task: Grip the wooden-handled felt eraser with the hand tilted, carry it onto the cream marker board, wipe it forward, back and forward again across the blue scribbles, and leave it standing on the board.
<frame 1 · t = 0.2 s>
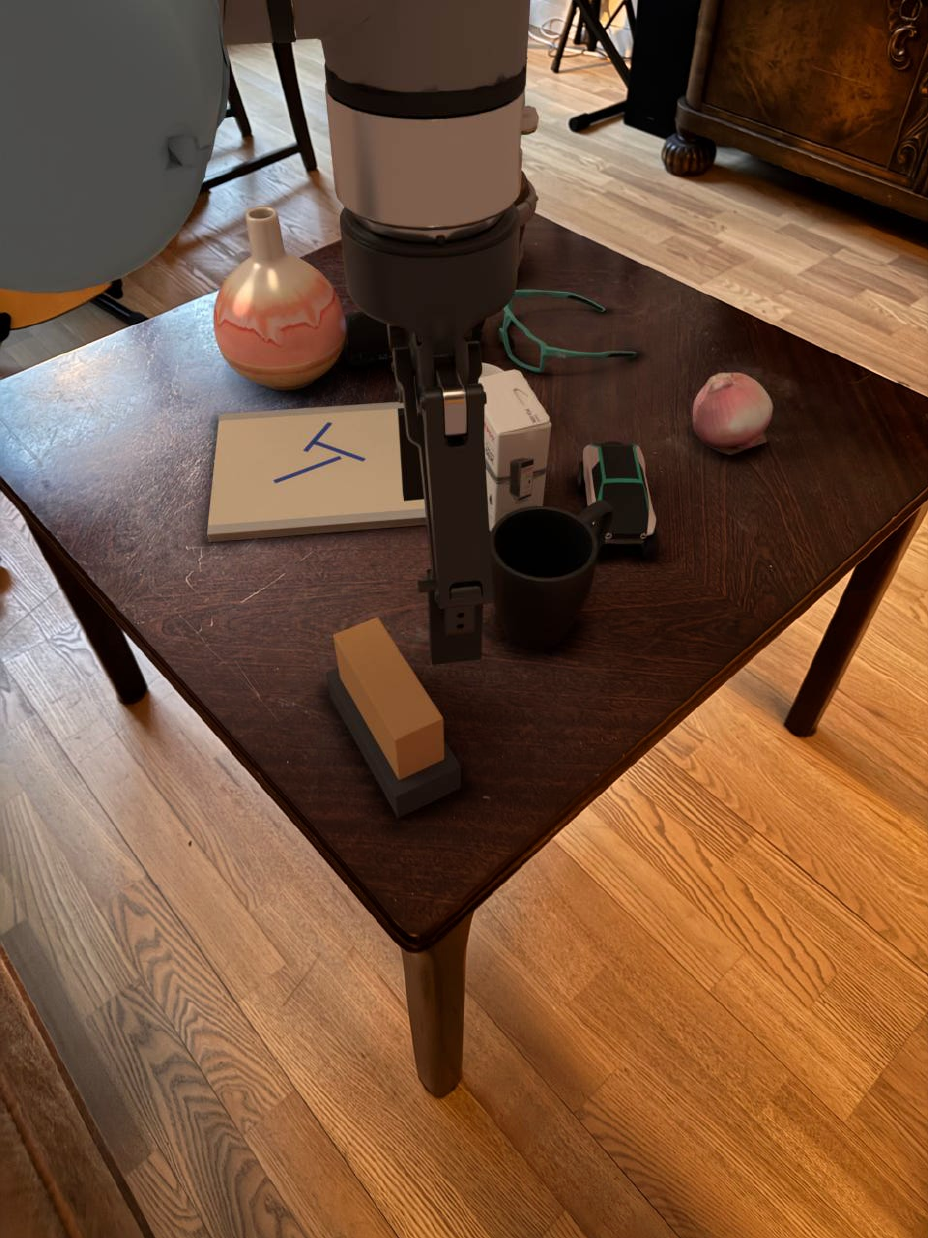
hand: (438, 569, 51), 18 cm above the table, tool pointing down, fingers open, 13 cm apart
sunglasses: (560, 343, 100), on the table
flowerpot: (473, 274, 111), on the table
onion: (724, 441, 88), on the table
mug: (550, 614, 73), on the table
board: (319, 470, 85), on the table
eraser: (392, 740, 64), on the table
vase: (289, 375, 96), on the table
game console: (411, 348, 100), on the table
ink box: (502, 505, 82), on the table
toy car: (613, 518, 81), on the table
teacup: (473, 423, 90), on the table
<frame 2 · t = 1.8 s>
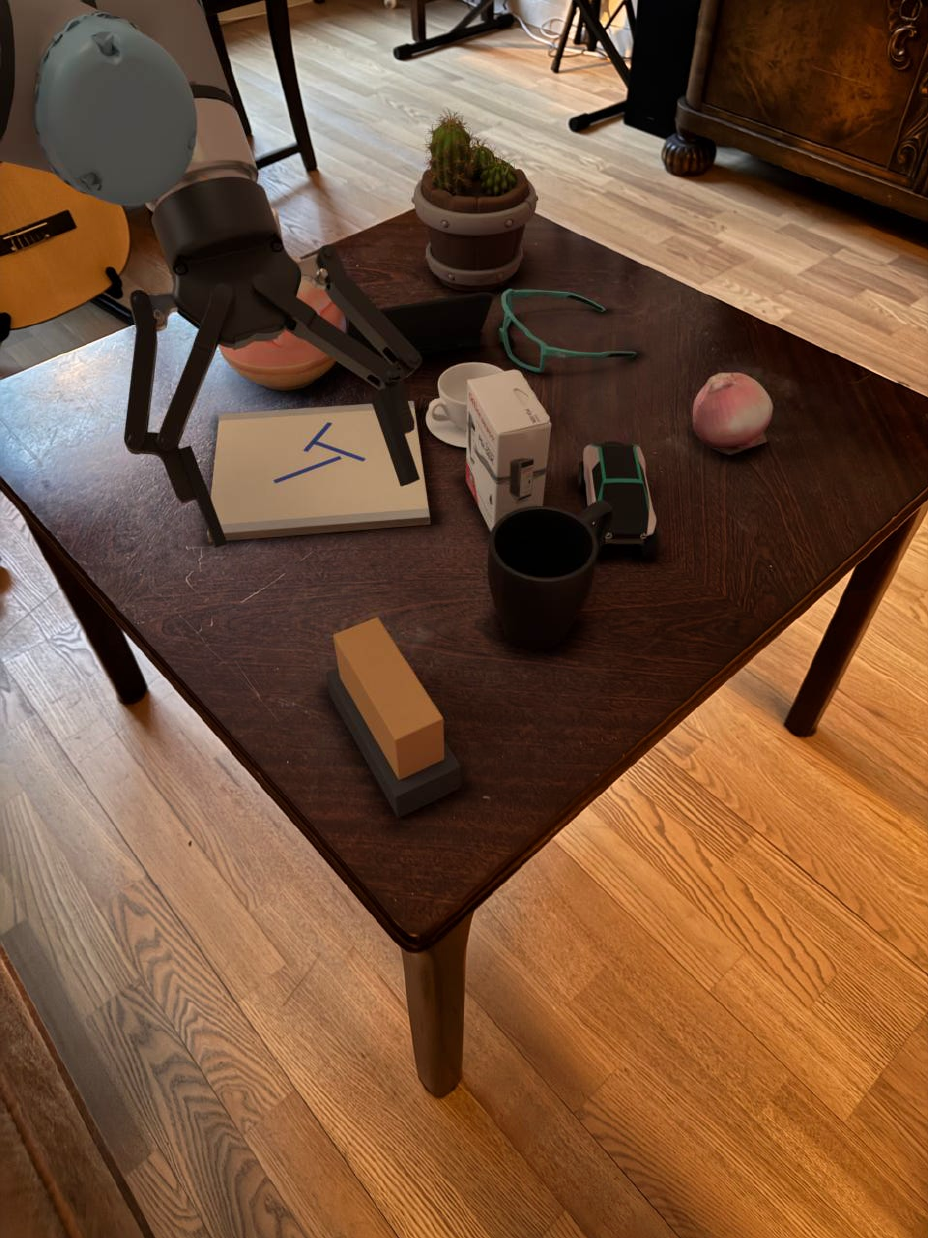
hand: (318, 514, 59), 15 cm above the table, tool tilted 45°, fingers open, 13 cm apart
nothing on the table moved.
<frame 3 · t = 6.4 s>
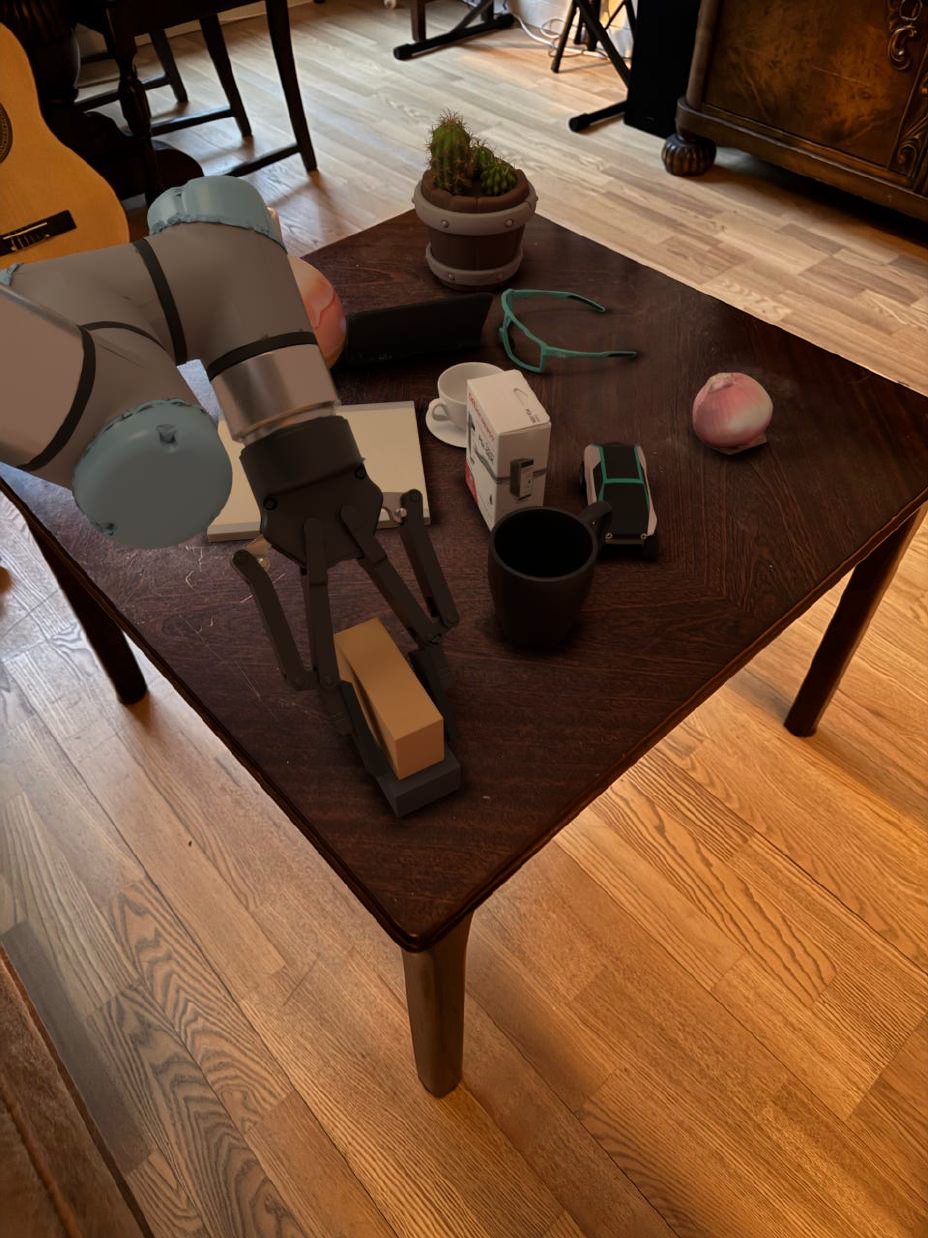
hand: (413, 753, 60), 3 cm above the table, tool tilted 45°, fingers closed on eraser, 5 cm apart
eraser: (392, 740, 64), on the table, touching gripper
everything else where it was.
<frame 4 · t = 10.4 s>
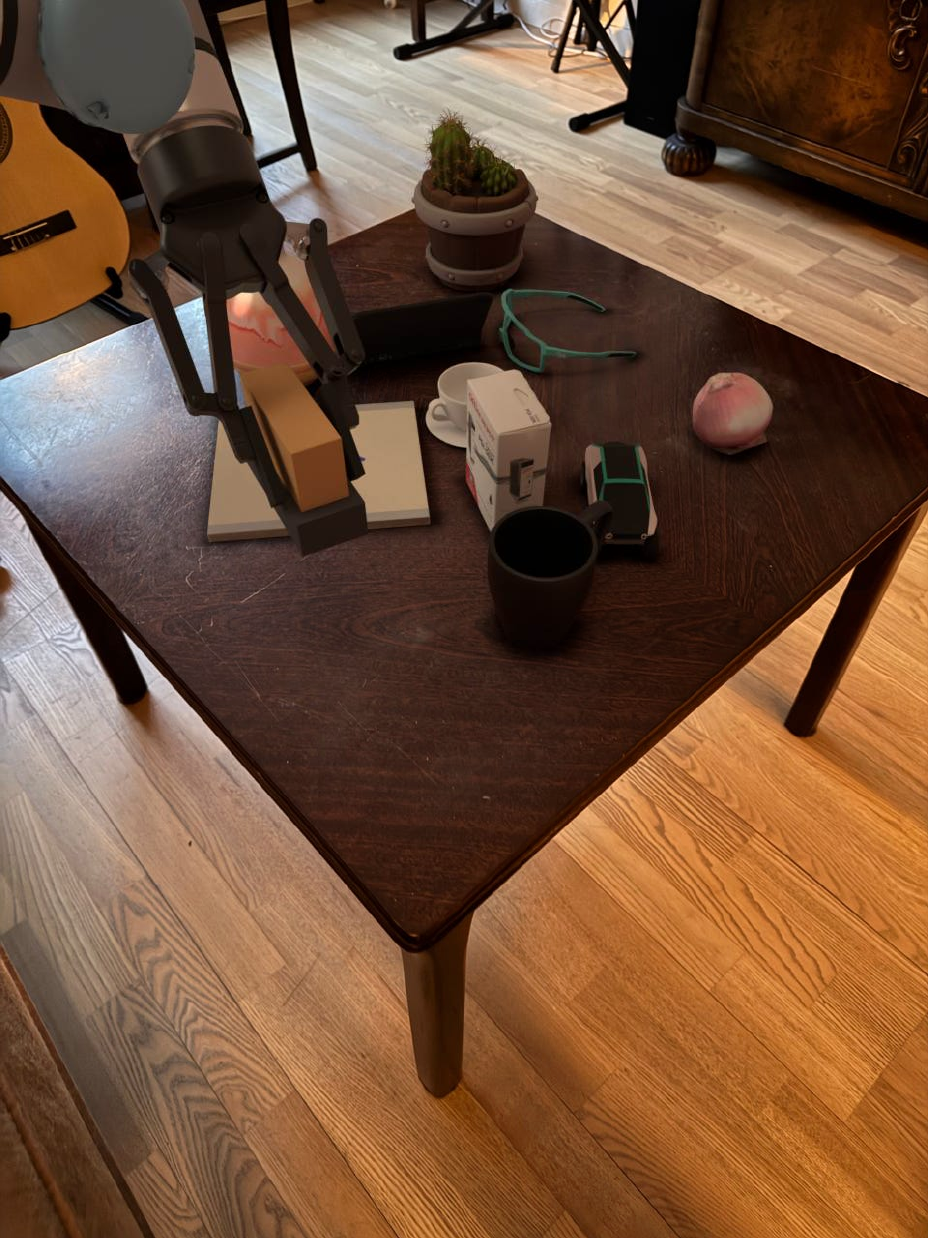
hand: (318, 490, 60), 15 cm above the table, tool tilted 45°, fingers closed on eraser, 5 cm apart
eraser: (304, 495, 64), point 12 cm above the table, touching gripper
everything else where it was.
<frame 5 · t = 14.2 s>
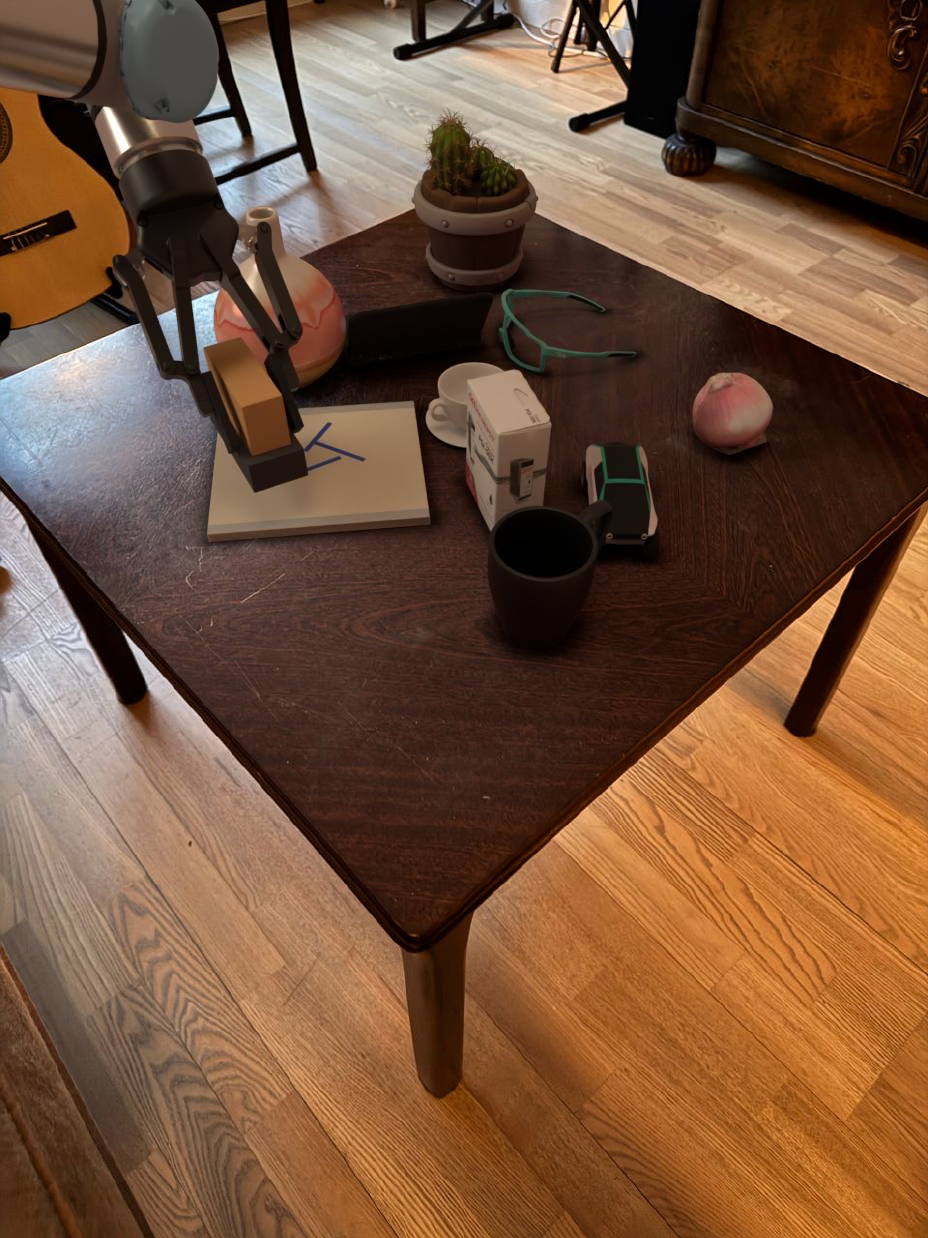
hand: (266, 439, 74), 8 cm above the table, tool tilted 45°, fingers closed on eraser, 5 cm apart
eraser: (257, 446, 79), point 5 cm above the table, touching gripper
everything else where it was.
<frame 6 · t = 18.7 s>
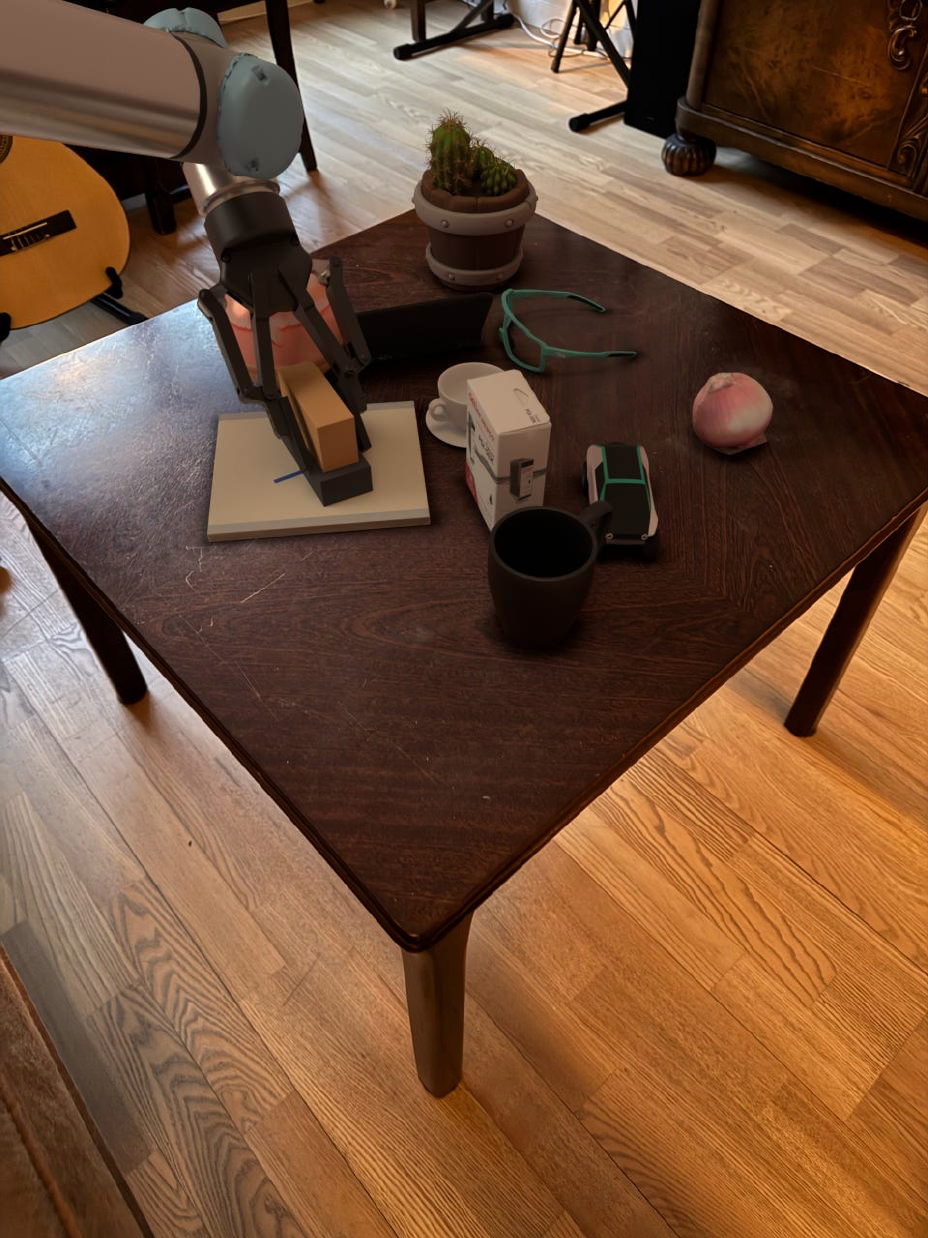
hand: (336, 459, 80), 4 cm above the table, tool tilted 45°, fingers closed on eraser, 5 cm apart
eraser: (324, 462, 84), point 1 cm above the table, touching gripper
everything else where it was.
when the fingers open (4 cm above the table, at t = 22.4 s): eraser stays where it is, resting on board.
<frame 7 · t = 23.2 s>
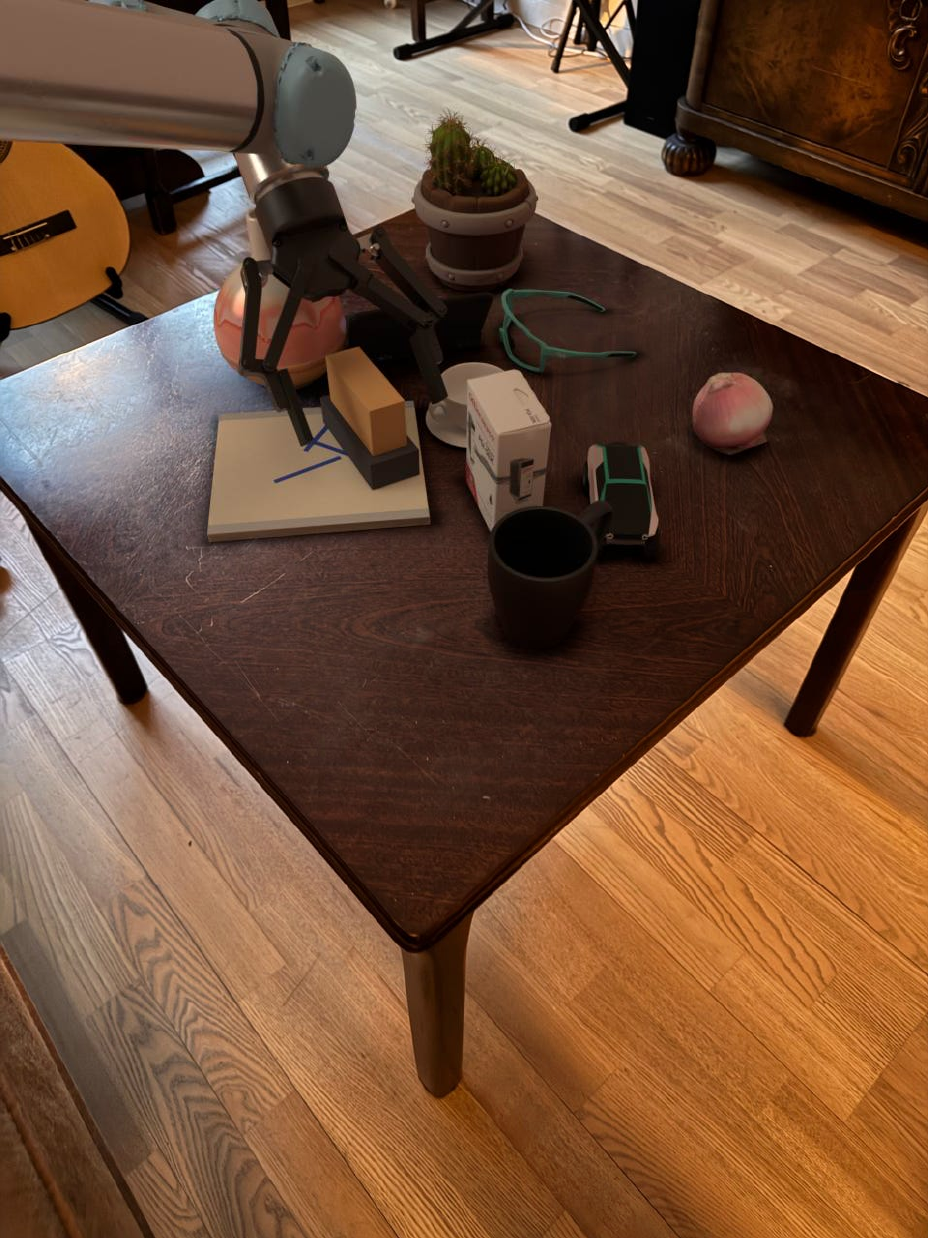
hand: (375, 421, 81), 6 cm above the table, tool tilted 45°, fingers open, 13 cm apart
eraser: (369, 447, 86), point 1 cm above the table, touching board
everything else where it was.
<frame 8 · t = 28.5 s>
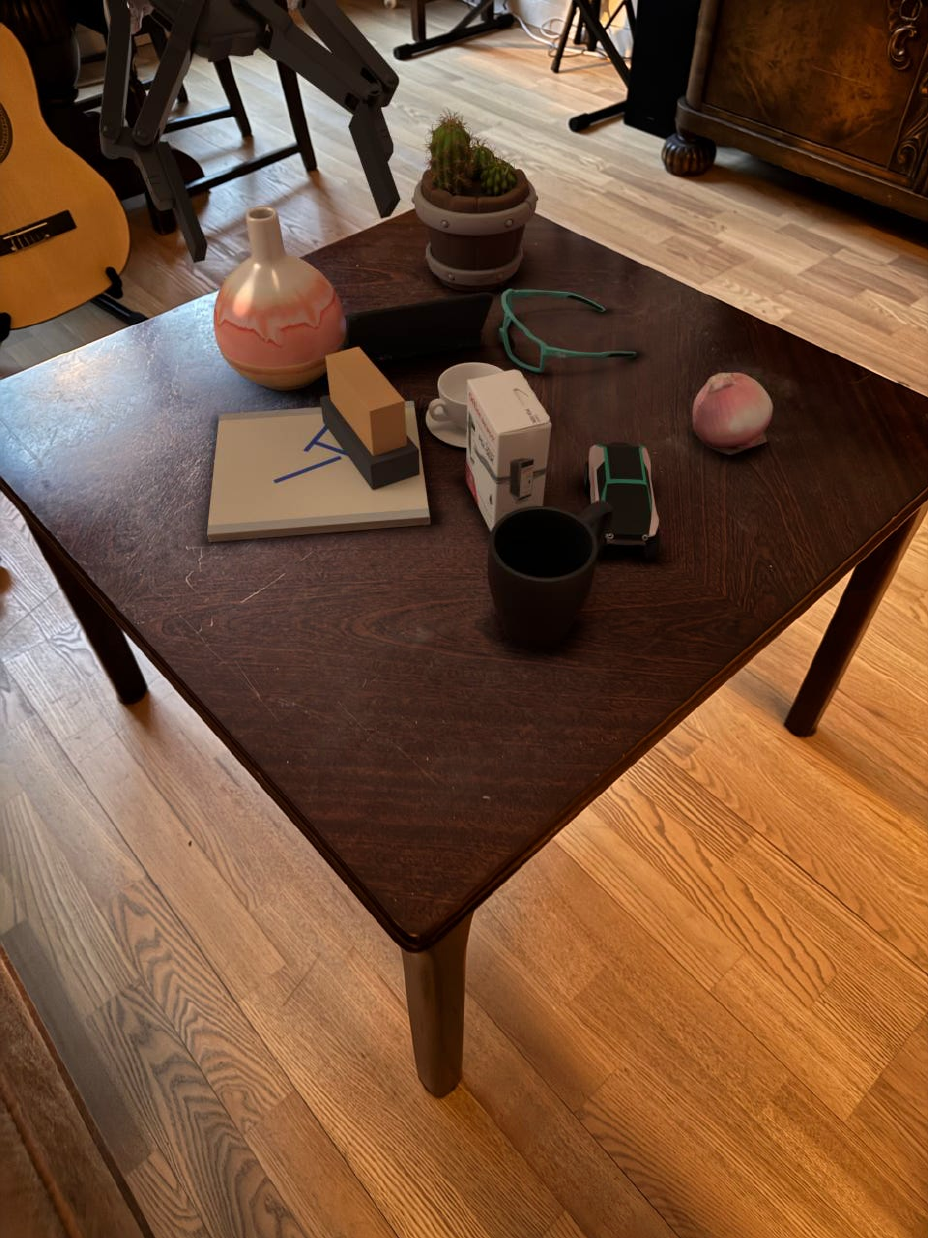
hand: (299, 231, 58), 28 cm above the table, tool tilted 45°, fingers open, 13 cm apart
nothing on the table moved.
at the end: eraser inside the target area on the board (5.3 cm from its centre), point 1.0 cm above the board's base; eraser tilted 1°; the gripper is holding nothing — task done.
